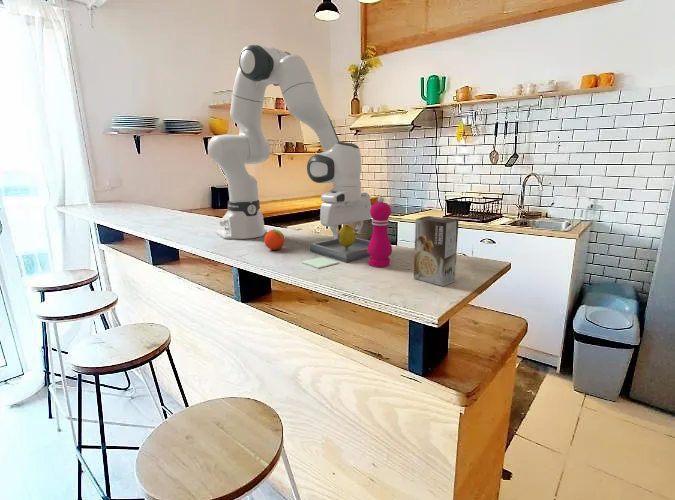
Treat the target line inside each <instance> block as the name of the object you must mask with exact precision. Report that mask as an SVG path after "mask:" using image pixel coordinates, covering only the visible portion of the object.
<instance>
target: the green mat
mask: <svg viewBox="0 0 675 500" xmlns="http://www.w3.org/2000/svg"><path fill="white" fill-rule="evenodd" d="M339 263H340V261H339V260H335V259H332V258H329V257H326V256H320V257H315V258H312V259H307V260H303V261H301V264H303V265H307V266H310V267H313V268H316V269H323V268H326V267H330V266H335V265H338V264H339Z"/></svg>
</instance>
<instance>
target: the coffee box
mask: <svg viewBox="0 0 675 500" xmlns="http://www.w3.org/2000/svg"><path fill="white" fill-rule="evenodd" d="M459 222H460V221H459V219H455V218H448V217H442V216H441V217H439V216H438V217H437V216H430V215H427V216H421V217H418V218H416V219H415V224H414V225H415V228H414V229H415V230H414V233H415V234H414V259H413V279H414V280H418V281H422V282H426V283H430V284H434V285H436V286H441V287H445V286H448V285H449V284H451V283H453V282H455V281H456V266H457V265H456V264H457V252H458V251H457V250H458V234H459Z"/></svg>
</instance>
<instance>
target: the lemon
mask: <svg viewBox="0 0 675 500" xmlns="http://www.w3.org/2000/svg"><path fill="white" fill-rule="evenodd" d="M338 233H340V238H339V242H340V244H341V245H342V246H344V247H345V248H348V247H349V246H351V245H352V244H353V243H354V241H355V237H356V234H355V233H354V228H353V227H352V226H350V225H348V224H344V226H342V227H340V229H339V231H338Z"/></svg>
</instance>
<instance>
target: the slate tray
mask: <svg viewBox="0 0 675 500" xmlns="http://www.w3.org/2000/svg"><path fill="white" fill-rule="evenodd" d="M369 242H370V240H369V239H365V238H360V237H356V236H355V241H354V243H353V244H352V245H351V246H349V247H348V248H345V247H344V246H342V245H341V244H340V242H339V239H334V238H331V239H326V240H322V241H317V242H311V243H309V252H310V253H314V254H316V255H321V256H322V257H325V258H328V259H332V260H335V261H338V262H343V263H351V262H354V261H358V260H361V259H365V258H368V257H369V258H370V257H371V256H370V255H369V254H368V252H367V250H368V244H369Z"/></svg>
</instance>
